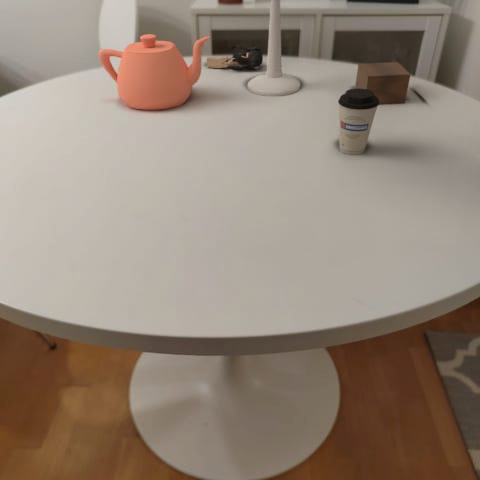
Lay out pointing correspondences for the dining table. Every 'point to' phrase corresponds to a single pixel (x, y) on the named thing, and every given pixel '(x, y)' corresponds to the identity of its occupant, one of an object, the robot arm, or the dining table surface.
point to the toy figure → (238, 59)
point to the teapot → (153, 73)
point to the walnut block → (384, 81)
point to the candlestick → (274, 63)
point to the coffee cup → (356, 119)
